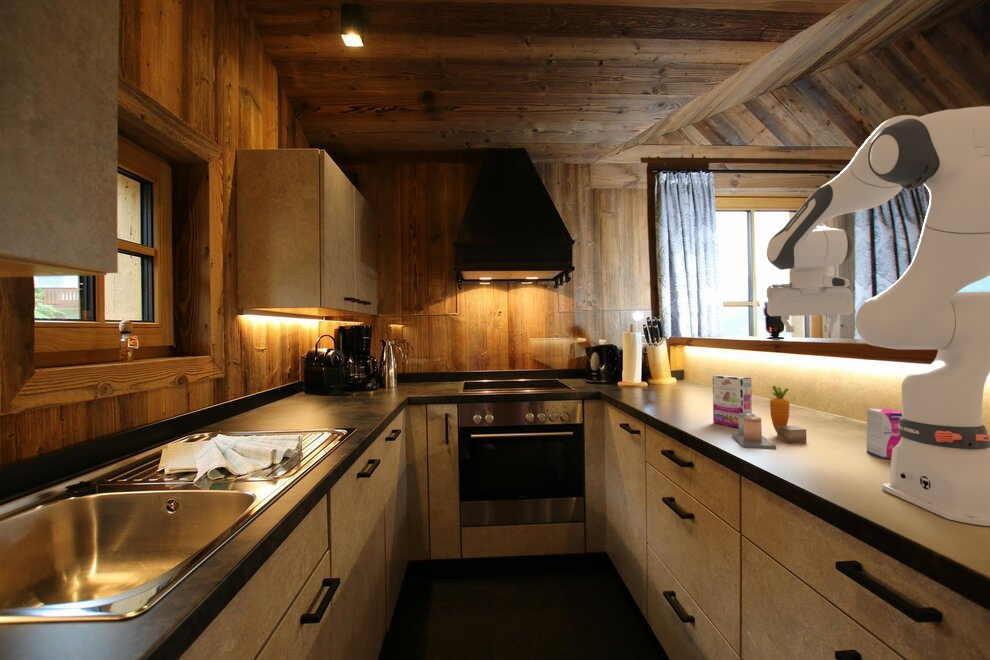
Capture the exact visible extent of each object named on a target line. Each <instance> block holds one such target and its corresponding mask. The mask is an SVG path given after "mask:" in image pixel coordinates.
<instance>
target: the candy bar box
mask: <svg viewBox="0 0 990 660" xmlns="http://www.w3.org/2000/svg"><path fill="white" fill-rule="evenodd" d="M712 403H713V404H712V407H713V408H712V411H713V412H712V413H713V414H712V415H713V416H712V417H713V423H714V424H716V425H720V426H725V427H731V428H736V429H739V413H752V414H753V412H752V409H753V408H752V404H753V403H752V377H750V376H737V375H725V374H724V375H722V374H721V375H720V374H717V375H713V376H712Z"/></svg>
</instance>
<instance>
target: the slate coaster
mask: <svg viewBox="0 0 990 660" xmlns="http://www.w3.org/2000/svg"><path fill="white" fill-rule="evenodd" d="M731 437H732V439H734V440H735V441H736V442H737V443H738V444H739V445H740V447H742V448H748V449H749V448H751V449H768V450H769V449H772V450H773V449H774V450H776V449H777V445H775V444H774V443H773V442H771V440H769V439H768V438H766V437H765V436H763V435H762V441H758V442H754V441H747V440H745V439H744V435H740V434H739V433H738V434H735V433H733V434H731Z"/></svg>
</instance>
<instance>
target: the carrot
mask: <svg viewBox="0 0 990 660" xmlns="http://www.w3.org/2000/svg"><path fill="white" fill-rule="evenodd" d="M772 390H773V392H772V395H773V396H775V397H773V398H771V399H770V401H769V405H770V406H769V409H770V418H771V422H772V425H773V429H774V430H775V432H776V433H777V426H788V421H789V418H790V401H789V399H787V398H785V397H784V396H785V395H786V394H787V392H788V391H789V388H787V387H786V388H784V390H782V388H781V387H777V386H776V385H772Z"/></svg>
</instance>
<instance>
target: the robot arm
mask: <svg viewBox="0 0 990 660" xmlns="http://www.w3.org/2000/svg"><path fill="white" fill-rule="evenodd" d="M923 185H924V186H925V187H926V189H927V190H928V193H929V204H928V208H927V211H926V214H925V218H924V222H923V226H922V229H921V233H920V237H919V241H918V244H917V248H916V250H915V253H914V256H913V258H912V260H911V263H910V265H909V266H908V267H907V269H906V270H905V272H904V273H903V274H902V275H901V276H900V277H899V278H898V280H896V281H895V282H894V283H893V284H892V285H891V286H889V287H888V288H886V289H885V290H884V291H882V292H881V293H879V294H877V295H875V296H873V297H871V298H869V299H867V300H866V301H865V302H864V303H863V304H862V305H860V308H859V309H858V311H857V313H856V315H855V321H854V322H855V329H856V331H857V334H858V336H860V338H861V340H863V341H864V342H865V343H866V344H868V345H870V346H873V347H881V348H884V349H885V348H886V349H893V350H937V353H936V357H935V358H934V360H933V361H932V362H931V363H930V364H929V365H927V366H925V367H921V368H920V369H919V368H918V369H917V370H914V371H913V372H911V373H909V374H908V375H906V377H905V378H904V379H903V381H902V383H901V412H902V417H900V418H899V424H898V428H899V435H900V436H901V439H900V441H899V443H898V444H897V445H896V446H895V447H894V448H893V450H892V457H891V459H890V469H889V481H888V482H885V483H883V484H882V486H881V487H882V488H881V489H882V491H885V492H887V493H889V494H891V495H894V496H896V497H898V498H900V499H902V500H905V501H906V502H909V503H912V504H913V505H915V506H918V507H920V508H922V509H925V510H926V511H929V512H931V513H932V514H936V515H938V516H941V517H943V518H945V519H947V520H951V521H955V522H959V523H964V524H969V525H970V524H971V525H972V524H973V525H976V526H984V527H985V526H986V527H990V434H989V433H988V432H987V428H986V426H985V425H984V424H983V401H984V400H983V399H984V390H985V389H984V388H985V384H986V381H987V379H988V376H989V374H990V291H961V290H963V288H965V287H967V286H970V285H971V284H973V283H976V282H978V281H981V280H983V279H985V278H987V277H989V276H990V103H987V104H983V105H980V106H973V107H972V106H970V107H963V108H956V109H952V108H951V109H944V110H939V111H936V112H932V113H927V114H925V115H924V114H923V115H922V116H917V115H912V114H905V115H897V116H893V117H891V118H889V119H887V120H885V121H884V122H882V123H881V124H880V125H879V126H878V127H877V128H876V129H875V130H874V131H872V132H871V134H870V136H868V138H867V139H866V140H865V141H864V143H863V144H862V145H861V146H860V148H859V149H858V150H857V152H856V153H855V155H854V156H853V158H852V159H851V161H850V162H849V163H848V164H847V166H846V167H845V168H844V169H843V170H842V171H840V173H839V174H838V175H836V176H835V177H834V178H833V179H831V180H830V181H828V182H827V183H824V184H823V185H822V186H820V187H819V188H816V190H814V192H813V193H811V194H810V196H809V197H808V198H807V199H806V200H805V202H804V203H803V204H802V205H801V206H800V207H799V209H798V210H797V211H796V212H794V213H795V214H794V215H793V216H792V217H791V218H790V219H789V221H788V222H787V223H786V224H785V225H784V227H783V228H781V229H780V230H779V231H778V232H777V233H775V234H774V235H773V236H772V238H771V239H770V240H769V242H768V245H767V248H766V257H767V259H768V261H769V263H771V264H772V265H773V266H774V267H775V268H777V269H778V270H789V282H786V283H785V282H784V283H772V285H771V284H770V285H769V286H768V287H767V288H766V297H767V303H766V315H769V317H780V320H781V322H782V323H783V325H784V326H785V332H786V333H794V332H795V330H794V328H795V326H794V325H791V324H790V323H789V321H788V320H790V317H791V316H792V317H793V316H794V317H799V316H800V317H801V316H803V317H804V316H807V317H808V316H827V317H828V320H829V321H828V323H827V325H823V331H824V332H825V333H833V331H834V326H835V324H836V322H837V321H838V319H839V317H838V316H848V315H851V314H852V313H853V312H854V310H855V307H854V305H855V304H854V295H853V293H852V291H851V290H850V288H848V287H849V286H850V284H851V283H850V280H849V279H848V278H844V277H840V276H835V275H831V274H829V270H828V267H836V266H839V265H843V264H844V263H845V262H847V261H848V260H849V258H850V257H851V256H852V254H853V249H854V248H853V246H854V244H853V239H852V236H851V235H850V233H848V232H847V231H846V230H844V229H839V228H831V227H827V226H826V224H825V223H823V222H824V221H827V220H829V219H831V218H834V217H837V216H842V215H845V214H846V215H847V214H851V213H855V212H859V211H865V210H869V209H874V208H876V207H879V206H883V204H885V203H887V202H889V201H890V200H892V199H893V198H894V197H895V196H896V195H898V193H900V192H901V191H902V190H903V189H905V190H910V191H912V190H915V189H918V188H919V187H921V186H923Z"/></svg>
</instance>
